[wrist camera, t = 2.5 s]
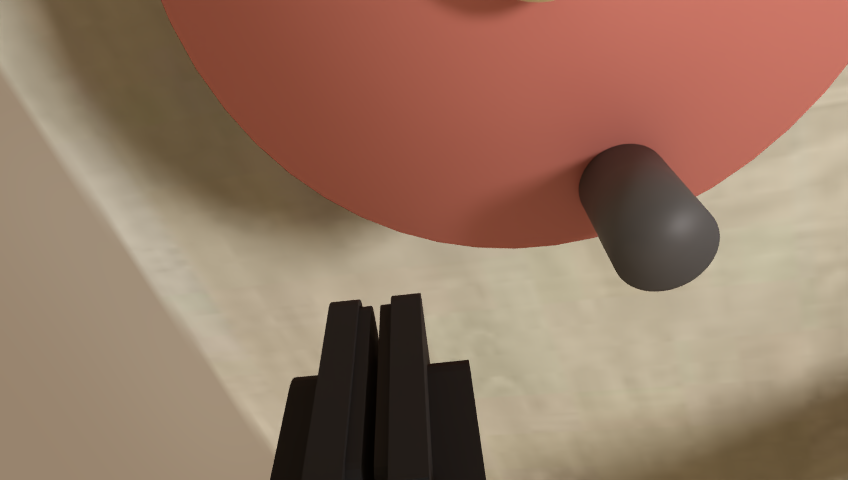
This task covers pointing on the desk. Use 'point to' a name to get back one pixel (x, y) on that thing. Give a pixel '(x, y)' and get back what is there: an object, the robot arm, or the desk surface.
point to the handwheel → (521, 110)
